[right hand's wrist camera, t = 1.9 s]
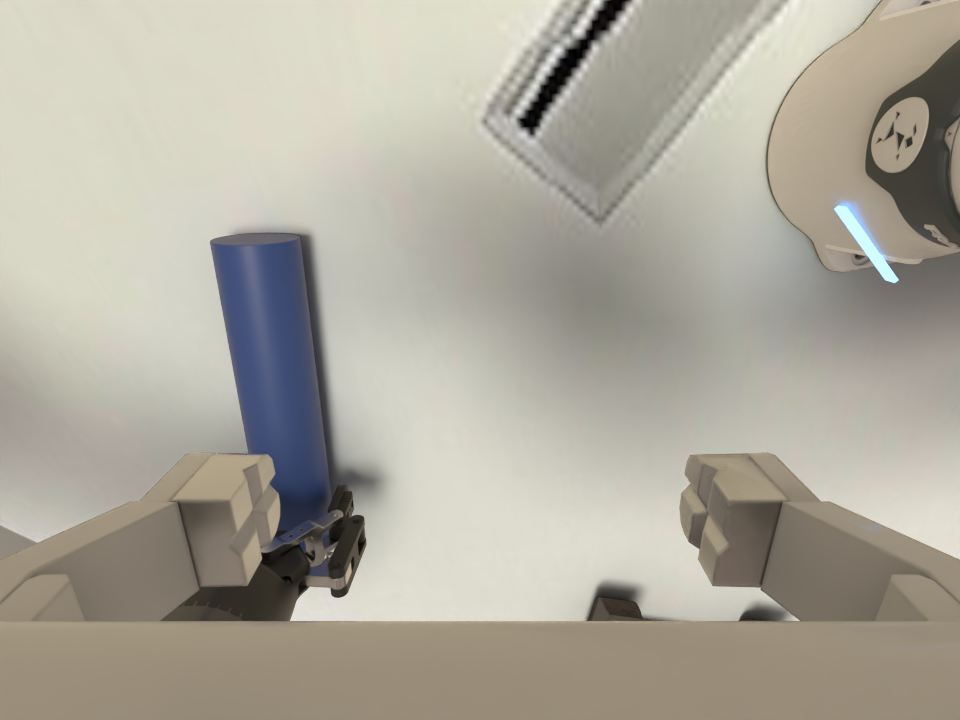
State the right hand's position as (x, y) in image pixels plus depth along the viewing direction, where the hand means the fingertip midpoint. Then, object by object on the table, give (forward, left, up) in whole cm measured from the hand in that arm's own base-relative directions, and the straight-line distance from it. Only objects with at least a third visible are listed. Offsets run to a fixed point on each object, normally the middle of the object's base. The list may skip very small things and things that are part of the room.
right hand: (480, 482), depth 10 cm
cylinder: (+16, +13, -33) cm, 38 cm away
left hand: (+16, +22, -30) cm, 40 cm away
